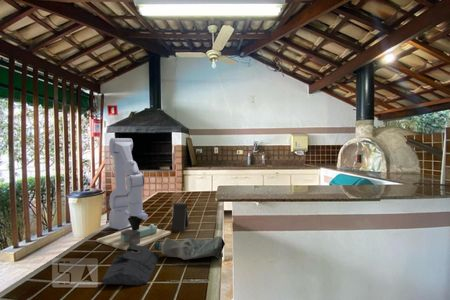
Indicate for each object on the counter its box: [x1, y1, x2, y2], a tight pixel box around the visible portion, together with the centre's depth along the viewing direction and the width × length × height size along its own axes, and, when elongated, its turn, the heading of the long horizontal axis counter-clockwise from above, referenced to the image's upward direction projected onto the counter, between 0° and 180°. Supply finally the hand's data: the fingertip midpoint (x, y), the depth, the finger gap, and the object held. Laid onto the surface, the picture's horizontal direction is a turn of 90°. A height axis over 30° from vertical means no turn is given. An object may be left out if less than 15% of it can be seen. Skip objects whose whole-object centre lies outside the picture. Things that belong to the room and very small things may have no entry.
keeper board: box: [96, 224, 172, 252], centre depth 107 cm, size 21×22×6 cm
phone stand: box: [171, 202, 190, 232], centre depth 120 cm, size 9×6×12 cm, turn 173°
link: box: [121, 223, 158, 242], centre depth 106 cm, size 16×4×3 cm, turn 138°
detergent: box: [154, 235, 226, 261], centre depth 88 cm, size 13×7×25 cm
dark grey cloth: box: [101, 244, 161, 286], centre depth 80 cm, size 15×22×5 cm
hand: (135, 233), depth 106 cm, fingers closed, pressing on link
